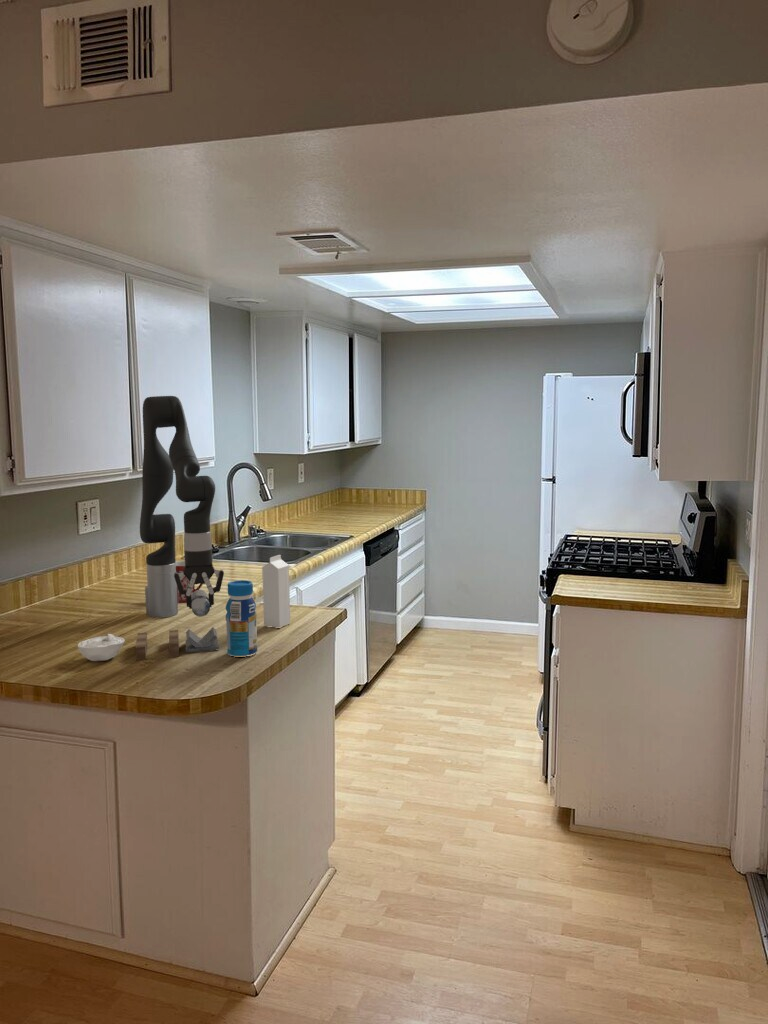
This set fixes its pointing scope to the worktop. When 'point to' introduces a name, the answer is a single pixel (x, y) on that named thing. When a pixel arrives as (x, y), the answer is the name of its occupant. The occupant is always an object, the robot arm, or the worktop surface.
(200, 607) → the grey metal cylinder
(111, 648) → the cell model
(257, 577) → the worktop surface
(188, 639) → the v block
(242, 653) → the beverage bottle
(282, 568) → the milk
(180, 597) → the mug
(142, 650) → the slotted block
